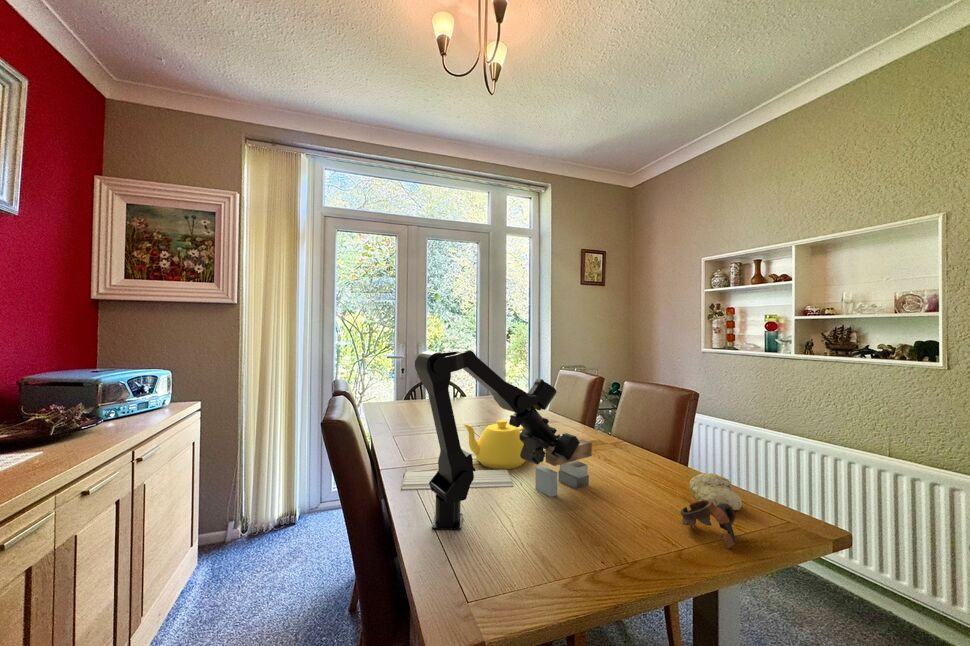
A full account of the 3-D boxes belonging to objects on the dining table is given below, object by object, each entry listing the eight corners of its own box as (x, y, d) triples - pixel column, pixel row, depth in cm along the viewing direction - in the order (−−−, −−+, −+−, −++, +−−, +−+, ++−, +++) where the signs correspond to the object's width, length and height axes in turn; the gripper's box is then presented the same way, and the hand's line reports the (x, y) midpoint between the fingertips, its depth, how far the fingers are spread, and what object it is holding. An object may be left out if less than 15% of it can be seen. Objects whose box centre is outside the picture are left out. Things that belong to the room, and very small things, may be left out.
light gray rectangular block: (550, 497, 97) (550, 474, 98) (535, 488, 102) (535, 467, 102) (557, 494, 99) (557, 472, 99) (541, 487, 104) (542, 465, 104)
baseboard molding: (513, 491, 102) (507, 474, 114) (513, 480, 102) (507, 465, 114) (400, 494, 99) (405, 477, 111) (400, 483, 99) (405, 467, 111)
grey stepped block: (576, 489, 102) (576, 467, 102) (558, 481, 108) (558, 460, 108) (588, 485, 105) (588, 464, 105) (570, 477, 111) (570, 457, 111)
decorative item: (675, 484, 97) (693, 461, 102) (687, 512, 98) (704, 489, 103) (723, 495, 87) (740, 470, 92) (736, 528, 87) (752, 501, 92)
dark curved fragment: (723, 557, 73) (699, 514, 75) (688, 554, 81) (667, 515, 83) (758, 529, 78) (734, 489, 80) (721, 528, 86) (700, 492, 88)
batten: (554, 466, 100) (554, 451, 100) (545, 462, 103) (545, 447, 103) (591, 456, 108) (591, 442, 108) (582, 452, 111) (582, 439, 111)
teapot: (467, 474, 112) (467, 429, 113) (457, 455, 130) (457, 416, 130) (543, 468, 118) (543, 425, 119) (524, 450, 136) (524, 413, 136)
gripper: (495, 439, 103) (526, 471, 109) (541, 458, 87) (573, 494, 93) (517, 408, 107) (545, 440, 113) (564, 421, 92) (594, 457, 98)
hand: (562, 457), depth 104 cm, fingers closed on batten, 4 cm apart
